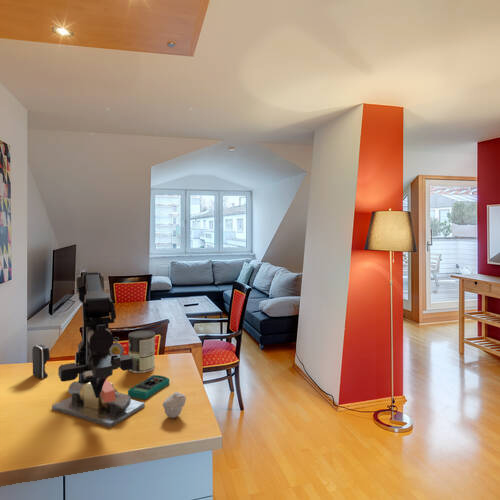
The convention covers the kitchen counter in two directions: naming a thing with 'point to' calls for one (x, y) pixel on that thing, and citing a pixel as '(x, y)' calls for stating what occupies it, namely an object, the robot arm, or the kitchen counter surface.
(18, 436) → the kitchen counter surface
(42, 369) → the battery charger
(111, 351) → the pocket watch
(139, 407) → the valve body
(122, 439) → the kitchen counter surface
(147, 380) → the digital multimeter
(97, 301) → the robot arm
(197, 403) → the kitchen counter surface
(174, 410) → the pale grey rock
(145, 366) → the coffee can
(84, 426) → the kitchen counter surface
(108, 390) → the lever
